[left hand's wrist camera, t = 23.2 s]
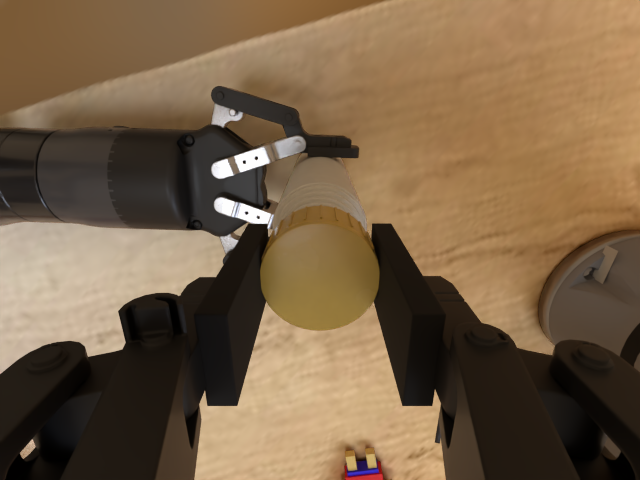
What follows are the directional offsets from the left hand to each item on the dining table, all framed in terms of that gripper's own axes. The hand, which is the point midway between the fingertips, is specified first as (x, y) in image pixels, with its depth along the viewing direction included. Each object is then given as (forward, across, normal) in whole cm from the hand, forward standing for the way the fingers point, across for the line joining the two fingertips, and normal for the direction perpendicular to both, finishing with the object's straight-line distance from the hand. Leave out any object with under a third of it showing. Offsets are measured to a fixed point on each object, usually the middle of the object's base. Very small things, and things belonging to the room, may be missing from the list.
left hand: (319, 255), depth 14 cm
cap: (-2, 0, 0) cm, 2 cm away
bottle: (+19, 0, 0) cm, 19 cm away
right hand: (+13, -3, 0) cm, 14 cm away
